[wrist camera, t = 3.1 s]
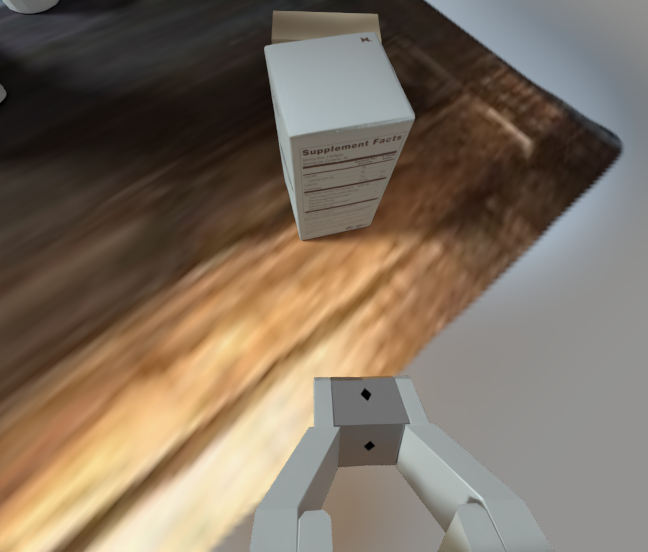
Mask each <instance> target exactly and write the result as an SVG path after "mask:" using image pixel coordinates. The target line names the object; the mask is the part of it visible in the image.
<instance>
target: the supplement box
mask: <svg viewBox="0 0 648 552" xmlns="http://www.w3.org/2000/svg"><path fill="white" fill-rule="evenodd" d="M264 51H265V57H266V63H267V69H268V75H269V81H270V87H271V94H272V100H273V106H274V113H275V119H276V126H277V133H278V140H279V146H280V153H281V159H282V166H283V172H284V178H285V182H286V185H287V188H288V192H289V196H290V200H291V204H292V208H293V212H294V216H295V220H296V224H297V228H298V232H299V237H300V240H306V239H311V238H316V237H321V236H325V235H330V234H335V233H339V232H344V231H349V230H353V229H358V228H362V227H367V226H370V225H371V222H372V220H373V217H374V215H375V213H376V210H377V208H378V205H379V203H380V201H381V198H382V196H383V194H384V191H385V189H386V186H387V184H388V182H389V179H390V177H391V175H392V172H393V170H394V167H395V165H396V163H397V160H398V158H399V155H400V153H401V151H402V148H403V146H404V144H405V141H406V139H407V137H408V134H409V132H410V129H411V127H412V125H413V122H414V120H415V114H414V112H413V110H412V108H411V105H410V103H409V102H408V100H407V98H406V95H405V93H404V91H403V89H402V87H401V85H400V83H399V80H398V78H397V76H396V74H395V71H394V69H393V67H392V65H391V63H390V61H389V59H388V57H387V55H386V53H385V51H384V49H383V46H382V44H381V42H380V40H379V38H378V35H377V33H375V32H363V33H353V34H345V35H338V36H331V37H324V38H317V39H309V40H301V41H294V42H286V43H279V44H273V45H268V46H265V47H264Z"/></svg>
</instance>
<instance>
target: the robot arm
mask: <svg viewBox="0 0 648 552" xmlns="http://www.w3.org/2000/svg"><path fill="white" fill-rule="evenodd" d="M5 97H6V91H5V89H4V88H3V87H2V85H1V84H0V102H1V101H2V100H3V99H4V98H5ZM365 465H396V467H397V469H398V470H399V472H400V473H401V474H402V475H403V477H404V478H405V480H406V481H407V482H408V484H409V485H410V486H411V488H412V489H413V490H414V492H415V493H416V494H417V496H418V497H419V498H420V500H421V501H422V502H423V503H424V505H425V506H426V507H427V509H428V510H429V511H430V513H431V514H432V515H433V517H434V518H435V519H436V521H437V522H438V523H439V525H440V526H441V527H442V529H443V530H444V531H445V532H446V534H445V536H444V539H443V541H442V543H441V545H440V547H439V550H438V552H554V551H553V549H552V547H551V545H550V544H549V542H548V540H547V539H546V537H545V535H544V534H543V532H542V530H541V528H540V527H539V525H538V524H537V522H536V520H535V518H534V517H533V515H532V513H531V512H530V510H529V508H528V507H527V505H526V503H525V502H524V500H523V499H522V498H521V497H520V496H519V495H517V494H516V493H515V492H514V491H513V490H512V489H510V488H509V487H508V486H507V485H506V484H505V483H504V482H502V481H501V480H500V479H499V478H498V477H497V476H496V475H494V474H493V473H492V472H491V471H490V470H488V469H487V468H486V467H485V466H484V465H483V464H482V463H480V462H479V461H478V460H477V459H476V458H475V457H474V456H472V455H471V454H470V453H469V452H468V451H467V450H466V449H464V448H463V447H462V446H461V445H459V443H457V442H456V441H455V440H454V439H453V438H452V437H451V436H449V435H448V434H447V433H446V432H445V431H444V430H442V429H441V428H440V427H439V426H438V425H437V424H433V423H430V422H429V419H428V417H427V414H426V412H425V410H424V408H423V405H422V403H421V401H420V398H419V396H418V394H417V391H416V389H415V387H414V384H413V382H412V380H411V378H410V377H409V376H408V375H403V376H369V377H314V427H309V428H308V430H307V431H306V433H305V434H304V436H303V438H302V439H301V441H300V442H299V444H298V445H297V447H296V448H295V450H294V452H293V453H292V455H291V456H290V458H289V459H288V461H287V463H286V464H285V466H284V467H283V469H282V470H281V472H280V473H279V475H278V477H277V478H276V480H275V481H274V483H273V484H272V486H271V488H270V489H269V491H268V492H267V494H266V495H265V497H264V498H263V500H262V502H261V503H260V505H259V506H258V508H257V509H256V511H255V518H254V524H253V531H252V537H251V543H250V550H249V552H333V548H332V533H331V517H330V516H329V515H328V514H327V513H326V512H325V511H324V510H321V508H322V506H323V503H324V501H325V499H326V496H327V494H328V492H329V489H330V487H331V485H332V482H333V480H334V478H335V475H336V473H337V470H338V467H349V466H350V467H351V466H365Z"/></svg>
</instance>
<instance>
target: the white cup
mask: <svg viewBox="0 0 648 552" xmlns="http://www.w3.org/2000/svg"><path fill="white" fill-rule="evenodd" d="M2 1H3V2H4V3H5V4H6V5H7V6H8V7H9V8H10V9H11V10H13V11H16V12H18V13H25V14H34V13H38V12H42V11H46V10H48V9H49V8H51V7H53V6H55V5H56V4H57V3H58V2H59V0H2Z"/></svg>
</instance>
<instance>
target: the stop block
mask: <svg viewBox="0 0 648 552" xmlns="http://www.w3.org/2000/svg"><path fill="white" fill-rule="evenodd" d="M363 32H375V33H377V35H378V38H379V40H380V42H381V36H380V29H379V21H378V14H355V13H325V12H294V11H273V24H272V45H273V44H279V43H286V42H294V41H301V40H309V39H317V38H324V37H331V36H338V35H345V34H353V33H363Z"/></svg>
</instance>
